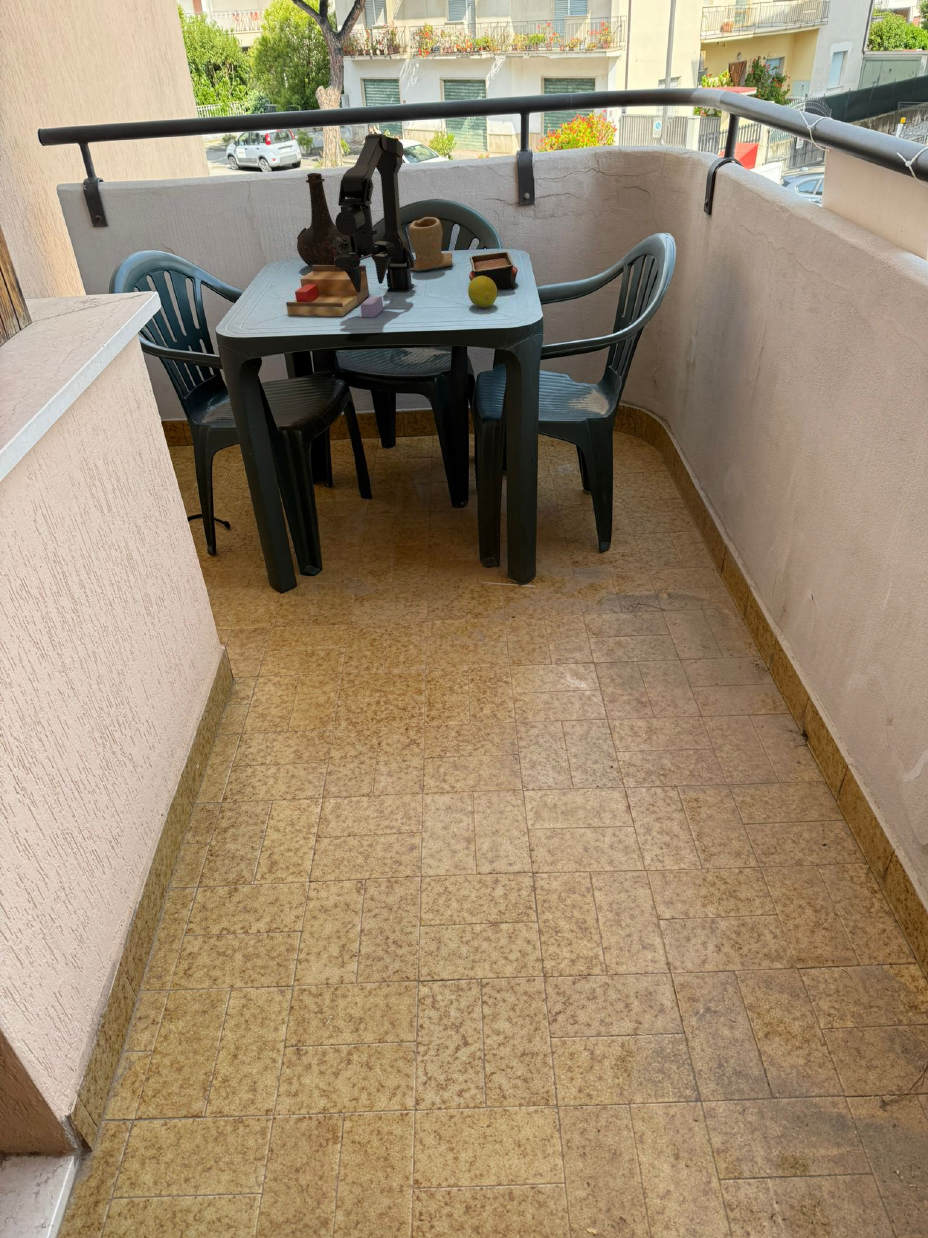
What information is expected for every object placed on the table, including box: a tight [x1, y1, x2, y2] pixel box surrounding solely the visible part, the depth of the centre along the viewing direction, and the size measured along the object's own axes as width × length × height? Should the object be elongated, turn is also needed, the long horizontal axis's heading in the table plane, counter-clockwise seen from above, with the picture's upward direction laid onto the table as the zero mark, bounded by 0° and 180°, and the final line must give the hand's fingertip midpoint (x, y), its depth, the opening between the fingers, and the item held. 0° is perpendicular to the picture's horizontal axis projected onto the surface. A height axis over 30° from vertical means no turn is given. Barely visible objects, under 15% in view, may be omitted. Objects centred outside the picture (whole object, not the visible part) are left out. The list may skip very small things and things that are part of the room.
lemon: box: [467, 276, 498, 308], centre depth 231 cm, size 11×8×8 cm
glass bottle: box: [296, 172, 351, 268], centre depth 273 cm, size 18×18×28 cm
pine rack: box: [285, 264, 370, 317], centre depth 241 cm, size 17×20×8 cm
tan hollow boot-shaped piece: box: [408, 216, 453, 272], centre depth 265 cm, size 15×12×15 cm
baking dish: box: [468, 251, 519, 291], centre depth 248 cm, size 14×18×10 cm
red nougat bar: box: [294, 284, 319, 302], centre depth 239 cm, size 4×8×3 cm, turn 164°
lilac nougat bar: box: [359, 296, 384, 318], centre depth 233 cm, size 4×8×3 cm, turn 164°
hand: (369, 287), depth 230 cm, fingers open, 9 cm apart
